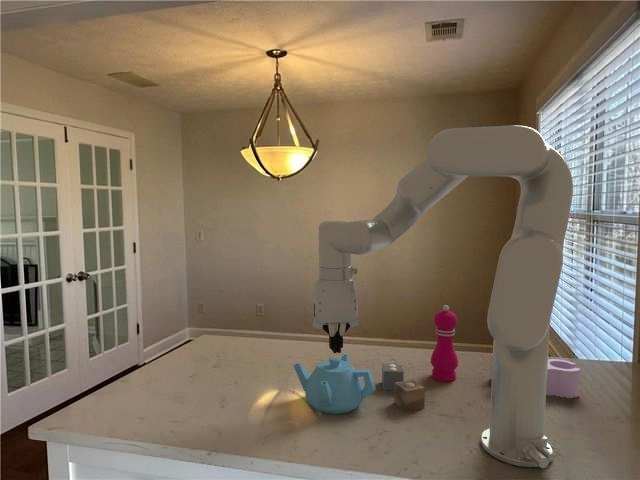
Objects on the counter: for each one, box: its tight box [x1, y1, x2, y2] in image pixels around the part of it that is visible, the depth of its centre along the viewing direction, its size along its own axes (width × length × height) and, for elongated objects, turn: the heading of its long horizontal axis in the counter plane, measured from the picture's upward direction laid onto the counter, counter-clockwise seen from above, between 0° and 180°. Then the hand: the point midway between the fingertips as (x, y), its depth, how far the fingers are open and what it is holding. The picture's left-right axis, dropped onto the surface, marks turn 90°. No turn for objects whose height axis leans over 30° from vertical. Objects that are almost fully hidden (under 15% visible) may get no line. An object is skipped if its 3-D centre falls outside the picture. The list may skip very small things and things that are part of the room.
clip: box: [489, 353, 581, 399], centre depth 111 cm, size 20×12×7 cm, turn 76°
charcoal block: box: [381, 363, 405, 391], centre depth 112 cm, size 5×5×5 cm
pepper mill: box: [430, 304, 459, 382], centre depth 118 cm, size 7×7×20 cm
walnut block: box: [393, 379, 426, 413], centre depth 101 cm, size 5×5×5 cm
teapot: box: [293, 353, 377, 415], centre depth 102 cm, size 15×15×11 cm
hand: (336, 351), depth 102 cm, fingers closed
